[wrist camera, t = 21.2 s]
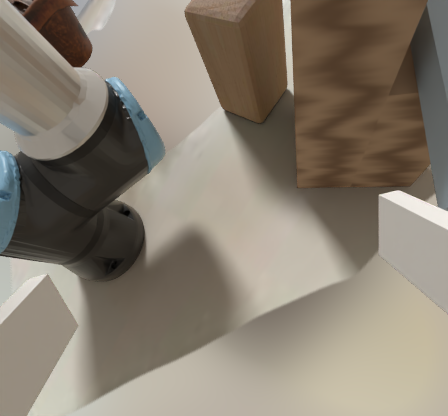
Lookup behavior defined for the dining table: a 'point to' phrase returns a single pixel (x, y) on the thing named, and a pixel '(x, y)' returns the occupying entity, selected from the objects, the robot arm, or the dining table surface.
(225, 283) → the dining table surface
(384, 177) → the walnut stand
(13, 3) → the brown pot
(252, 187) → the dining table surface
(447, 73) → the slate rail
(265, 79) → the wooden block
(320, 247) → the dining table surface
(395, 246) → the robot arm
